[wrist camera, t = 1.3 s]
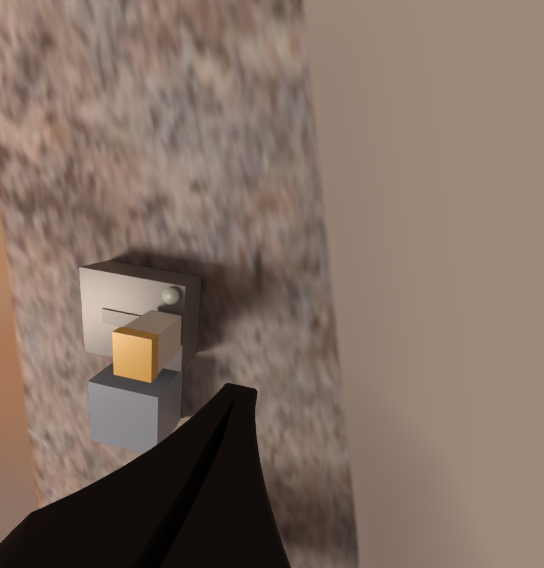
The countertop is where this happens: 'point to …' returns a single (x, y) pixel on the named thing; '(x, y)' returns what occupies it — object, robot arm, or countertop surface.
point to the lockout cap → (134, 409)
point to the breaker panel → (137, 304)
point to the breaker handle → (146, 345)
